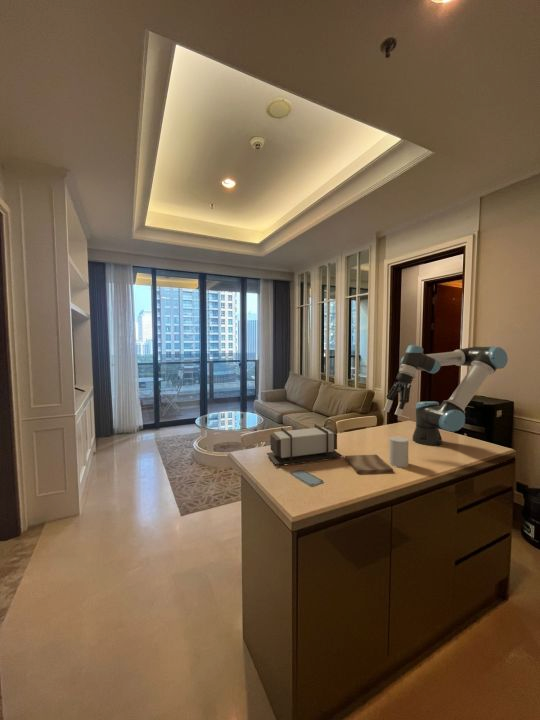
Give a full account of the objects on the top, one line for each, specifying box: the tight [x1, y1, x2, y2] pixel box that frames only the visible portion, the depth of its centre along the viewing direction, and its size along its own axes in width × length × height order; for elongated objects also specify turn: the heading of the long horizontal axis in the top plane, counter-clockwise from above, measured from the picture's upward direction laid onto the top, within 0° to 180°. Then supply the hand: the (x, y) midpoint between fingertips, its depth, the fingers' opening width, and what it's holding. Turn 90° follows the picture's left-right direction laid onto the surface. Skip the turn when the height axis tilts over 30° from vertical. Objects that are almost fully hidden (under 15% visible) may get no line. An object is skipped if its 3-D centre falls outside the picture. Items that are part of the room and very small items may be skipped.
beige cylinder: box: [389, 435, 409, 468], centre depth 143 cm, size 8×8×12 cm
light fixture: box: [266, 423, 343, 466], centre depth 153 cm, size 15×15×35 cm
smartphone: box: [289, 469, 324, 487], centre depth 130 cm, size 7×1×15 cm
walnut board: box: [344, 454, 394, 475], centre depth 142 cm, size 16×18×2 cm
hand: (391, 413), depth 155 cm, fingers open, 13 cm apart
